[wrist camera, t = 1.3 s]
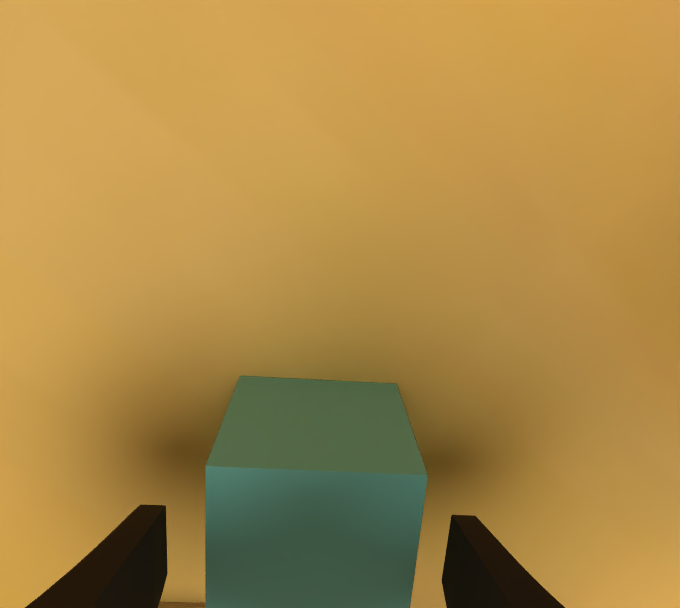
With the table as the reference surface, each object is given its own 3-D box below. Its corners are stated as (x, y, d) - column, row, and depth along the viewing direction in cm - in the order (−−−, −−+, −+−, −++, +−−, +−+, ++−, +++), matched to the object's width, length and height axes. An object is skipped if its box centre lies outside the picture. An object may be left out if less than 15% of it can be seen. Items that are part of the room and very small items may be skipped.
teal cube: (396, 382, 16) (427, 475, 11) (382, 513, 18) (404, 646, 13) (240, 374, 16) (205, 466, 11) (237, 508, 17) (205, 642, 12)
